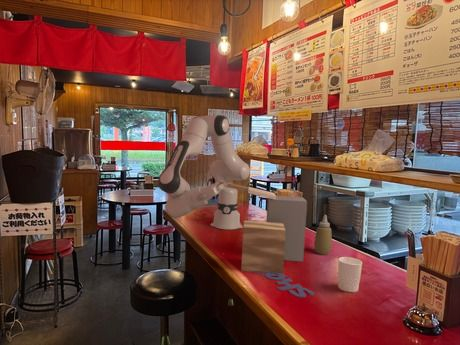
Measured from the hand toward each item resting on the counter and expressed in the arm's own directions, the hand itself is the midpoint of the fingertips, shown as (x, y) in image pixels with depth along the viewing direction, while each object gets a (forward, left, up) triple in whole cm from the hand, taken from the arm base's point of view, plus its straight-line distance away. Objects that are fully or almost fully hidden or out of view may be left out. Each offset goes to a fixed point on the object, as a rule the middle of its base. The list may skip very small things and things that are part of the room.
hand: (227, 182), depth 148 cm
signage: (+27, +23, -32) cm, 48 cm away
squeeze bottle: (-10, +45, -32) cm, 56 cm away
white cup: (+29, +46, -32) cm, 63 cm away
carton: (-2, +26, -31) cm, 41 cm away
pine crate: (+14, +16, -31) cm, 38 cm away
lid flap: (0, +9, -3) cm, 9 cm away
